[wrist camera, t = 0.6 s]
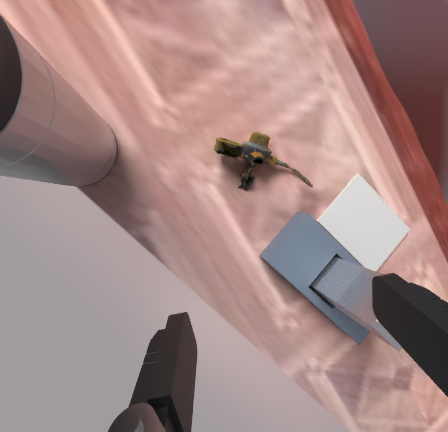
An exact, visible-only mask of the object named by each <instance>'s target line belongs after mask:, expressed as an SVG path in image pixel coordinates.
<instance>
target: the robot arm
mask: <svg viewBox="0 0 448 432" xmlns="http://www.w3.org/2000/svg"><path fill="white" fill-rule="evenodd" d="M116 154H117V144H116V140H115V136H114V134H113V132H112V130H111V128H110V127H109V125H108V124H107V123H106V121H105V120H104V119H103V118H102V117H101V116H100V115H99V114H98V113H97V112H96V111H95V110H94V109H93V108H92V107H91V106H90V105H89V104H88V103H87V102H86V101H85V100H84V99H83V98H82V97H81V96H80V95H79V93H78V92H77V91H76V90H75V89H74V88H73V87H72V86H71V85H70V84H69V83H68V82H67V81H66V80H65V79H64V78H63V77H62V76H61V75H60V74H59V73H58V72H57V71H56V70H55V69H54V68H53V67H52V66H51V65H50V64H49V63H48V62H47V61H46V60H45V59H44V58H43V57H42V56H41V54H40V53H39V52H38V51H37V50H36V49H35V48H34V47H33V46H32V45H31V44H30V43H29V42H28V41H27V40H26V39H25V38H24V37H23V36H22V35H21V34H20V33H19V32H18V31H17V30H16V29H15V28H14V27H13V26H12V25H11V24H10V23H9V22H8V21H7V20H6V19H5V18H4V17H3V16H2V15H1V14H0V176H7V177H14V178H20V179H27V180H34V181H41V182H48V183H54V184H61V185H70V186H86V185H89V184H93V183H95V182H97V181H99V180H101V179H102V178H103V177H104V176H105V175H107V173H108V172H109V171H110V170H111V168H112V166H113V164H114V162H115V159H116ZM372 307H373V312H374V314H375V316H376V318H377V320H378V321H379V323H380V324H381V325H382V326H383V327H384V328H385V329H386V330H387V331H388V332H389V334H390V335H391V336H392V337H393V338H394V339H395V340H396V341H397V342H398V343H399V344H400V346H401V347H402V348H403V349H404V350H405V351H406V352H407V353H408V354H409V355H410V356H411V358H412V359H413V360H414V361H415V362H416V363H417V364H418V365H419V366H420V367H421V368H422V369H423V371H424V372H425V373H426V374H427V375H428V376H429V377H430V378H431V379H432V380H433V381H434V383H435V384H436V385H437V386H438V387H439V388H440V389H441V390H442V391H443V392H444V393H445V395H446V396H447V397H448V303H447V302H446V301H444V300H441V299H440V297H438V296H437V295H435V294H434V293H433V292H431V291H430V290H428V289H426V288H424V287H421V286H419V285H416V284H414V283H408V282H406V281H405V280H404V279H402V278H401V277H399V276H398V275H397V274H395V273H389V274H384V275H379V276H374V277H373V279H372ZM196 363H197V344H196V340H195V336H194V332H193V329H192V326H191V322H190V319H189V315H188V313H187V312H184V313H179V314H173V315H170V316H169V317H168V321H167V324H166V328H165V329H162V330H158V331H157V333H156V334H155V335H154V337H153V338H152V339H151V341H150V343H149V346H148V349H147V354H146V355H145V358H144V362H143V365H142V368H141V371H140V374H139V377H138V380H137V383H136V386H135V389H134V393H133V395H132V398H131V401H130V405H129V407H128V408H127V409H126V410H124V411H123V412H122V413H121V414H120V415H119V416H118V417H117V418H116V419H115V420H114V422H113V423H112V425H111V427H110V429H109V431H108V432H191V426H192V414H193V401H194V388H195V376H196Z"/></svg>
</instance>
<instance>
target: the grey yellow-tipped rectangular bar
mask: <svg viewBox="0 0 448 432" xmlns="http://www.w3.org/2000/svg"><path fill="white" fill-rule="evenodd" d="M379 275H384V274H381V273H378V272H376V271H373V270H370V269H367V268H365V267H362V266H359V265H356V264H354V263H351V262H348V261H345V260H343V259H340V258H337V257H333V258H332V259H331V260H330V262H329V263H328V264H327V265H326V266H325V268H324V269H323V270H322V271H321V272H320V274H319V275H318V276H317V277H316V278H315V280H314V281H313V282H312V283H311V284H310V286H309V287H310V288H311V289H312V290H313V291H315V292H316V293H317V294H318V295H319V296H320V297H321V298H323V299H324V300H326V301H327V302H329V303H330V304H332V305H333V306H334V307H336V308H337V309H339V310H340V311H342V312H343V313H344V314H346V315H347V316H349V317H350V318H352V319H353V320H355V321H356V322H357V323H359V324H360V325H362V326H363V327H365V328H366V329H367V330H369V331H370V332H372V333H373V334H375V335H376V336H378V337H379V338H380V339H382V340H383V341H385V342H386V343H388V344H389V345H390V346H392V347H393V348H395V349H396V350H398V351H400V350H401V349H402V347H401V346H400V344H399V343H398V342H397V341H396V340H395V339H394V338H393V337H392V336H391V335H390V334H389V332H388V331H387V330H386V329H385V328H384V327H383V326H382V325H381V324H380V323H379V321H378V320H377V318H376V316H375V314H374V312H373V307H372V279H373V277H374V276H379Z"/></svg>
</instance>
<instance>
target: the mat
mask: <svg viewBox="0 0 448 432" xmlns="http://www.w3.org/2000/svg"><path fill="white" fill-rule="evenodd" d="M316 222H317V223H318V224H319V225H320V226H321V227H322V228H323V229H325V230H326V231H327V232H328V233H329V234H330V235H331V236H332V237H333V238H334V239H335V240H336V241H337V242H338V243H339V244H340V245H341V246H342V247H343V248H344V249H345V250H346V251H347V252H348V253H349V254H350V255H351V256H352V257H353V258H354V259H355V260H356V261H357V262H358V263H359V264H360V265H361V266H362V267H365V268H367V269H370V270H373V271H377V270H378V269H379V267H380V266H381V265H382V264H383V262H384V261H385V260H386V259H387V258H388V256H389V255H390V254H391V253H392V251H393V250H394V249H395V248H396V247H397V245H398V244H399V243H400V242H401V240H402V239H403V238H404V237H405V236H406V234H407V233H408V232H409V231H410V229H409V228H408V226H407V225H406V224H405V223H404V222H403V221H402V220H401V219H400V218H399V217H398V216H397V215H396V213H395V212H394V211H393V210H392V209H391V208H390V207H389V206H388V205H387V204H386V203H385V202H384V201H383V199H382V198H381V197H380V196H379V195H378V194H377V193H376V192H375V191H374V190H373V189H372V188H371V186H370V185H369V184H368V183H367V182H366V181H365V180H364V179H363V178H362V177H361V176H360V175H359V174H356V175H355V176H354V177H353V178H352V180H351V181H350V182H349V183H348V184H347V185H346V187H345V188H344V189H343V190H342V191H341V193H340V194H339V195H338V196H337V197H336V198H335V200H334V201H333V202H332V203H331V204H330V205H329V207H328V208H327V209H326V210H325V211H324V212H323V214H322V215H321V216H320V217H319V218H318V219H317V221H316Z"/></svg>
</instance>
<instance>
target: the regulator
mask: <svg viewBox="0 0 448 432" xmlns="http://www.w3.org/2000/svg"><path fill="white" fill-rule="evenodd" d="M269 140H270V137H269V136H267V135H265V134H262V133H259V132H253V133H252V135H251V137H250V139H249V141H244V142H243V143H242V144H239V143H237V142H234V141H231V140H227V139H224V138H217V139H216V144H215V147H214V150H215V151H216V152H217V153H218V154H223V155H225V156H227V157H232V158H235V159H236V160H237V157H241V158H244V159H247V168H246V172H245V173H241V174H240V176H241V177H242V180H241V182H242V184H241V186H240V187H241V188H242V187H243V186H244V190H245V191H247V189H248V188H249V186H250V185H251V183H252V182H253V181H254V179H255V177H253V176H251V175H250V173H251V172H252V169H253V168H254V166H255V164H256V163H257V164H264V163H265V162H266V163H267V165H270V166H275V165H276V164H277V165H280V166H284V167H286V168H289V169H291V170H292V171H294V172H295V173H296V174H298V175H299V176H300V177H302V179H303V180H304V181H305V182H306V183H307V184H309V185H310V186H313V185H312V184H311V183H310V182H309V181H308V180H307V179H306V177H304V176H303V175H302V174H300V173H299V172H298V171H297V170H296V169H293V168H291V167H290V166H289V165H288V164H287V163H285V162H283V161H280V160H277V158H276V157H275V156H270V155H271V153H272V152H271V150H270V149H269V148H268V147H267V146H268V143H269ZM227 141H229V142H227ZM248 176H249V177H248ZM240 187H239V188H240Z"/></svg>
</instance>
